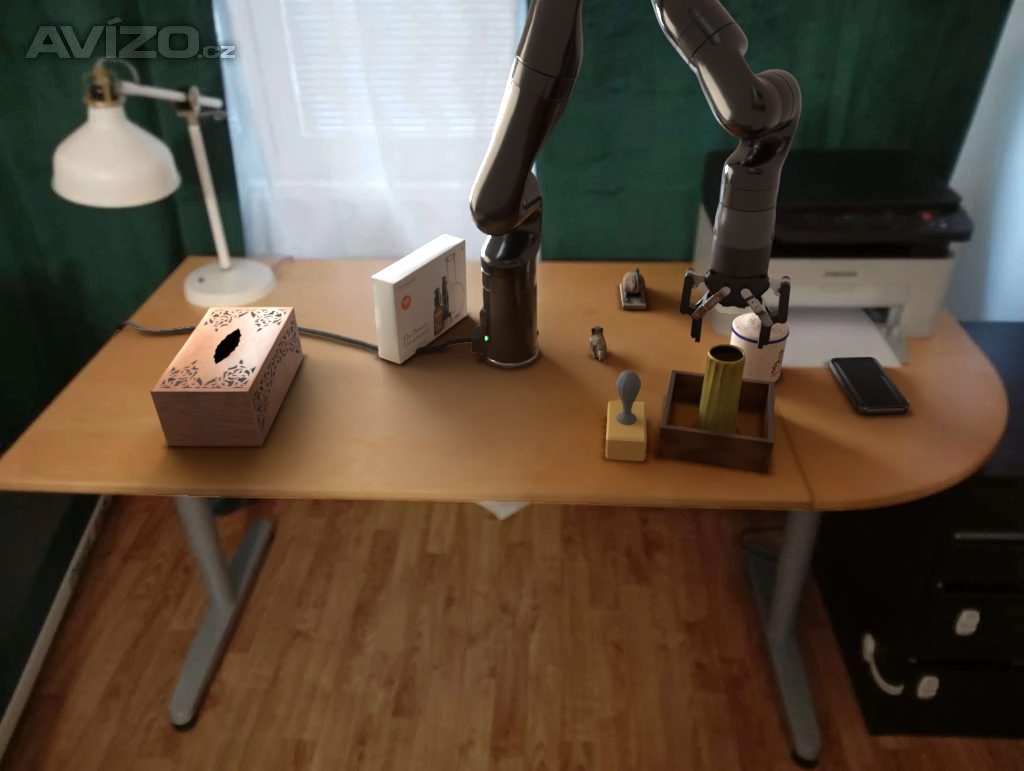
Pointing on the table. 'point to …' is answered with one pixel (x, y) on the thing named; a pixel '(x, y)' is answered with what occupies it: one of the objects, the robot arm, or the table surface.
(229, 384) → the tissue box cover
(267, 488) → the table surface
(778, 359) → the teacup with lid
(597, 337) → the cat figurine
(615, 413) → the rubber stamp
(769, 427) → the crate
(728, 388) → the vase
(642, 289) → the figurine
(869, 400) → the phone
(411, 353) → the skincare box
